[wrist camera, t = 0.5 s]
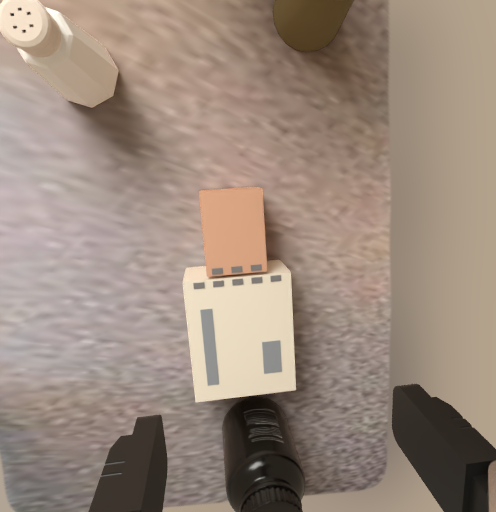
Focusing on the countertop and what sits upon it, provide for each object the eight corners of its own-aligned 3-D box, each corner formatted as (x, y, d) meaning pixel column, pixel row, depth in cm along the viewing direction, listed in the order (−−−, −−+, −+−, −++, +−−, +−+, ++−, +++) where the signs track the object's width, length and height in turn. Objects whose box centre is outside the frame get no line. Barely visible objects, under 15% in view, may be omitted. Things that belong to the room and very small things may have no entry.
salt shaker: (125, 105, 32) (82, 69, 21) (59, 111, 32) (-17, 77, 21) (113, 35, 31) (62, -40, 20) (45, 40, 30) (-44, -34, 20)
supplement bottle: (208, 431, 39) (209, 538, 28) (248, 382, 39) (266, 472, 27) (259, 462, 41) (279, 577, 29) (298, 416, 40) (336, 514, 28)
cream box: (186, 267, 35) (182, 282, 30) (279, 259, 36) (290, 272, 31) (197, 373, 38) (195, 402, 33) (284, 363, 39) (296, 390, 34)
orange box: (200, 190, 34) (198, 192, 29) (254, 186, 34) (262, 188, 29) (206, 263, 35) (206, 277, 30) (259, 258, 36) (267, 271, 31)
